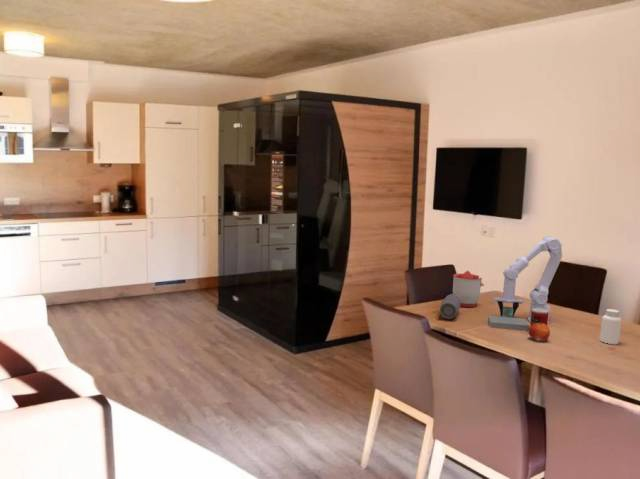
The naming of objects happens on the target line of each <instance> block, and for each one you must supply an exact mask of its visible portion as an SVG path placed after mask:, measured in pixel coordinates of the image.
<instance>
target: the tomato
mask: <svg viewBox="0 0 640 479" xmlns="http://www.w3.org/2000/svg"><path fill="white" fill-rule="evenodd" d="M550 334H551V329H550V327H549V325H546V324H544V323H534V324H532V325H531V326H530V325H529V331H528V335H529V336H530V337H531V339H533V340H534V341H537V342H544V341H547V340H548V339H549V337H550Z"/></svg>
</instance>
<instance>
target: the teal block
mask: <svg viewBox="0 0 640 479" xmlns="http://www.w3.org/2000/svg"><path fill="white" fill-rule="evenodd" d="M500 317H510V318H514V317H513V306H504V305H503V310H502V316H500Z"/></svg>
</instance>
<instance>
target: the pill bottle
mask: <svg viewBox="0 0 640 479" xmlns="http://www.w3.org/2000/svg"><path fill="white" fill-rule="evenodd" d="M622 323H623V322H622V318H621V317H620V311H619V310H617V309H613V308H612V309H611V308H607V309H606V310H605V314H604V315H603V316H602V318H601V325H600V326H601V327H600V331H599V332H600V335H599V341H600V342H601V343H603V342H604V344H607V343H608V344H607V345H619V343H620V339H621V338H620V337H621V329H622Z"/></svg>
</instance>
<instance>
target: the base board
mask: <svg viewBox="0 0 640 479" xmlns="http://www.w3.org/2000/svg"><path fill="white" fill-rule="evenodd" d="M487 322H488V326H489V328H495V329H497V328H498V329H508V330H515V331H516V330H518V331H519V330H520V331H528V332H529V327H530V323H528V321H527V319H526V318H519V317H513V318H510V317H501V316H499V315H496V316H494V315H488V318H487Z"/></svg>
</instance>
